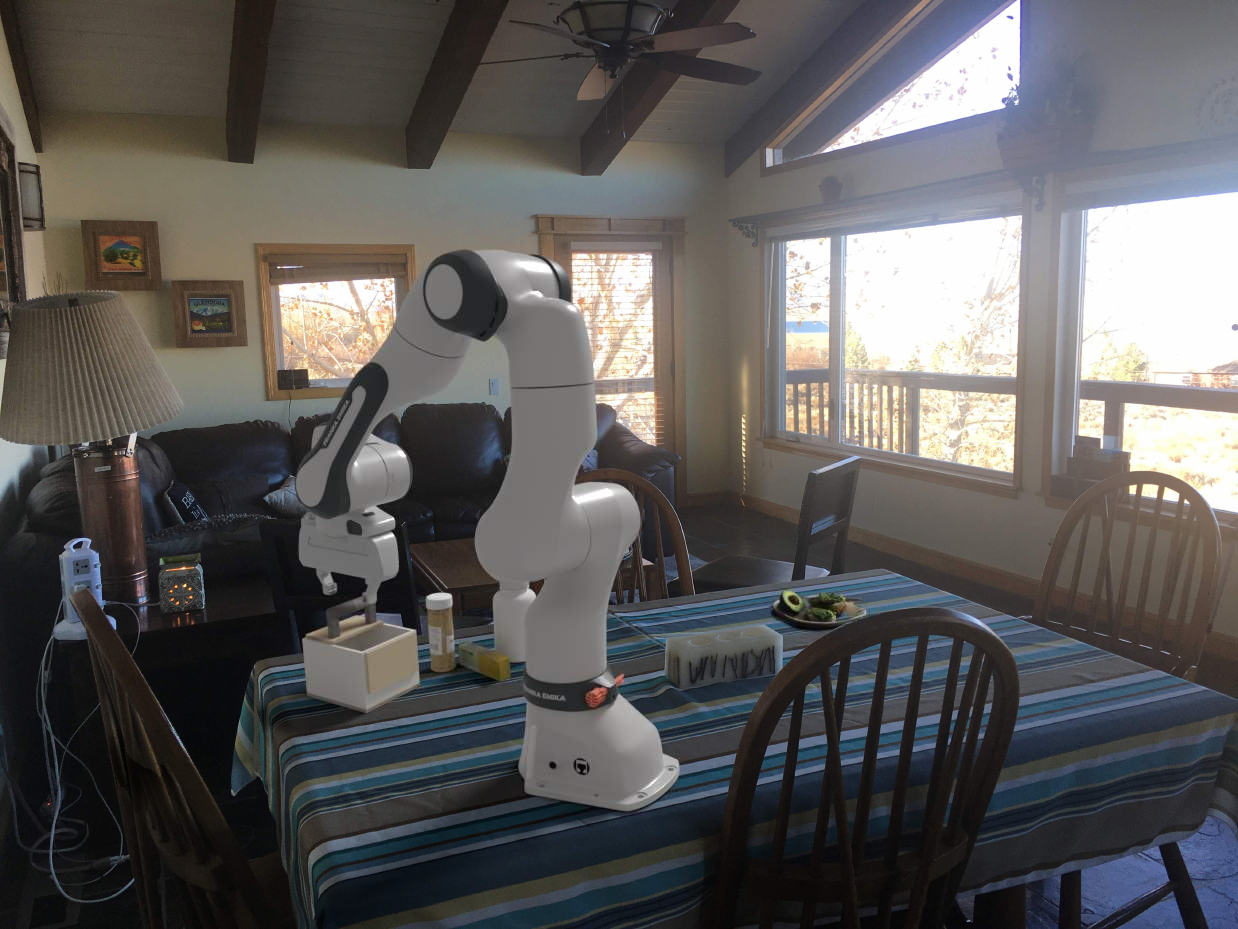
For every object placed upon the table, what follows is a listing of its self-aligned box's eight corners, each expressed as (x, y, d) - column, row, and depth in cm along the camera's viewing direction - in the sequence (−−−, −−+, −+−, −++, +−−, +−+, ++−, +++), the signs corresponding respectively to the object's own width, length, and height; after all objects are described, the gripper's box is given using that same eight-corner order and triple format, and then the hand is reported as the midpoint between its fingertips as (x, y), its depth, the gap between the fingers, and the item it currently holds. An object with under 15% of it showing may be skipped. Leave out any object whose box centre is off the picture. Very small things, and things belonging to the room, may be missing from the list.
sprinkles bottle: (460, 669, 164) (456, 596, 162) (436, 675, 162) (431, 601, 159) (450, 661, 168) (445, 590, 166) (426, 667, 165) (421, 595, 163)
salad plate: (839, 596, 201) (840, 575, 200) (889, 621, 184) (890, 599, 183) (760, 607, 194) (760, 586, 193) (804, 634, 178) (804, 611, 177)
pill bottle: (546, 657, 169) (543, 577, 166) (507, 667, 164) (503, 586, 162) (525, 644, 175) (522, 568, 173) (487, 654, 171) (483, 576, 168)
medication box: (457, 665, 167) (456, 644, 166) (470, 660, 169) (468, 639, 168) (499, 683, 158) (498, 661, 158) (511, 678, 160) (510, 656, 160)
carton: (422, 687, 157) (418, 630, 155) (368, 714, 147) (364, 654, 145) (361, 671, 164) (357, 617, 163) (307, 696, 154) (302, 638, 153)
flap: (383, 623, 159) (381, 593, 158) (333, 644, 149) (330, 611, 149) (356, 617, 162) (354, 587, 161) (305, 637, 153) (303, 605, 152)
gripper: (286, 514, 154) (292, 593, 157) (373, 528, 144) (378, 613, 146) (316, 506, 160) (322, 584, 162) (402, 520, 149) (407, 602, 151)
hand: (349, 598), depth 154 cm, fingers open, 8 cm apart
